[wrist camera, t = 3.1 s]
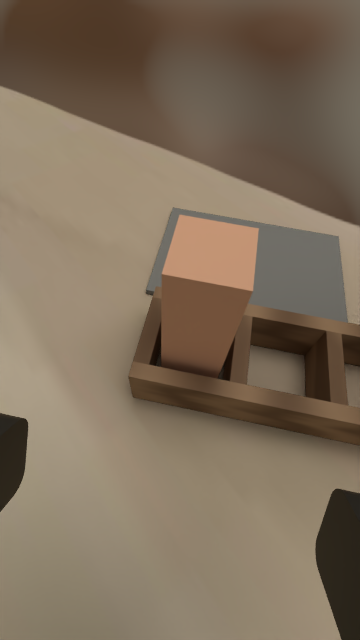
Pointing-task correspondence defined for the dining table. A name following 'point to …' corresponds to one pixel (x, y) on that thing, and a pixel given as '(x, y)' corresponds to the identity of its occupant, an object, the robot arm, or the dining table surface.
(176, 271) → the block
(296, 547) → the dining table surface
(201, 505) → the dining table surface
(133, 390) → the stand
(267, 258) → the mat
